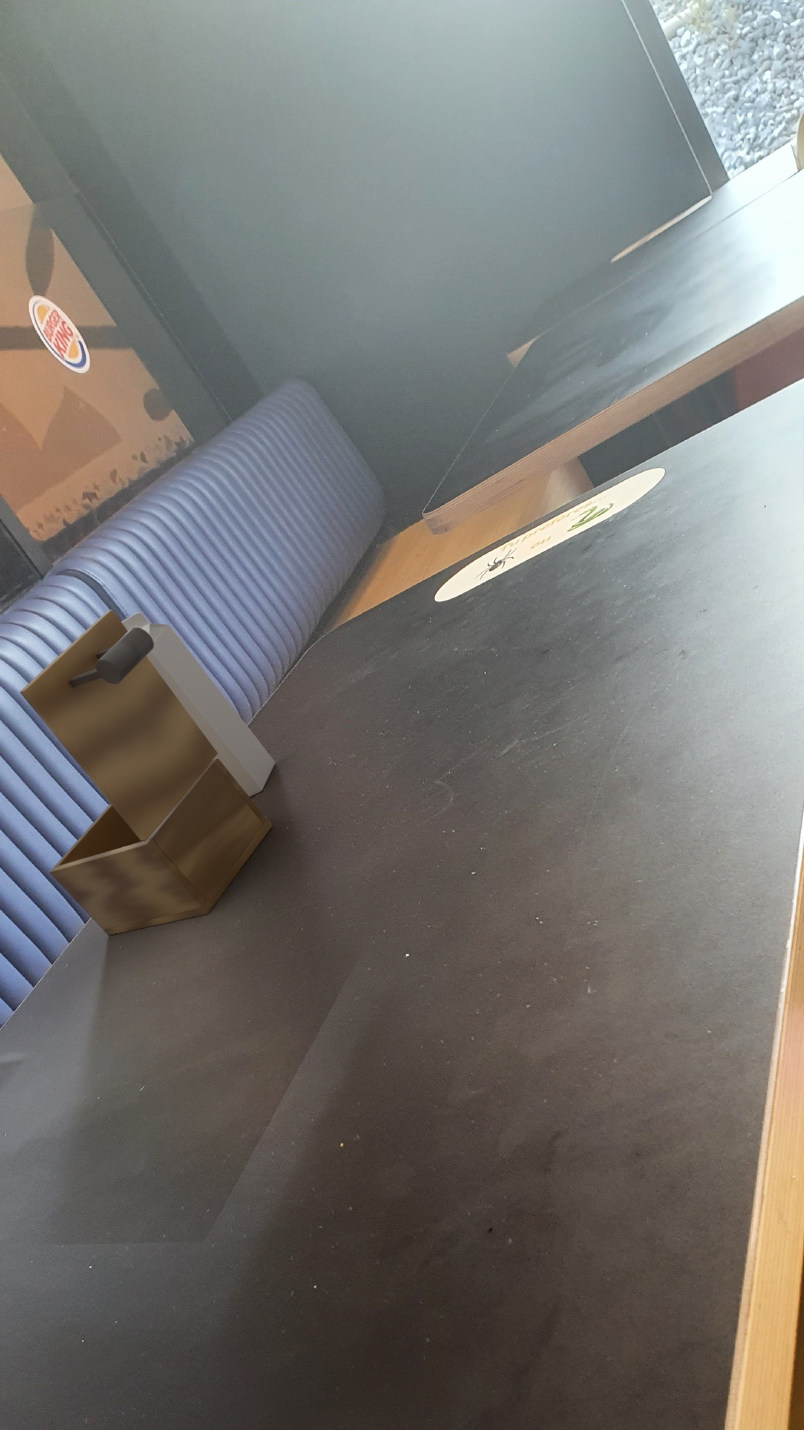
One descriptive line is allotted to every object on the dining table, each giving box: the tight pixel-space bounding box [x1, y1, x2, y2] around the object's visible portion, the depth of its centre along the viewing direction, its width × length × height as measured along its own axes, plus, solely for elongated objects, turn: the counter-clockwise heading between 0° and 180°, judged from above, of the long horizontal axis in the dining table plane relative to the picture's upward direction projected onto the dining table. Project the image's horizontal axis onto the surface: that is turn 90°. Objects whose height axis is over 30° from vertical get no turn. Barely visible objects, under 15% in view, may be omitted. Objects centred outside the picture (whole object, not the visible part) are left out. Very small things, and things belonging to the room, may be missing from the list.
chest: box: [48, 759, 273, 936], centre depth 114 cm, size 16×13×9 cm
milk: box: [121, 611, 276, 798], centre depth 123 cm, size 6×6×22 cm
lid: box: [19, 609, 218, 841], centre depth 101 cm, size 16×13×7 cm
